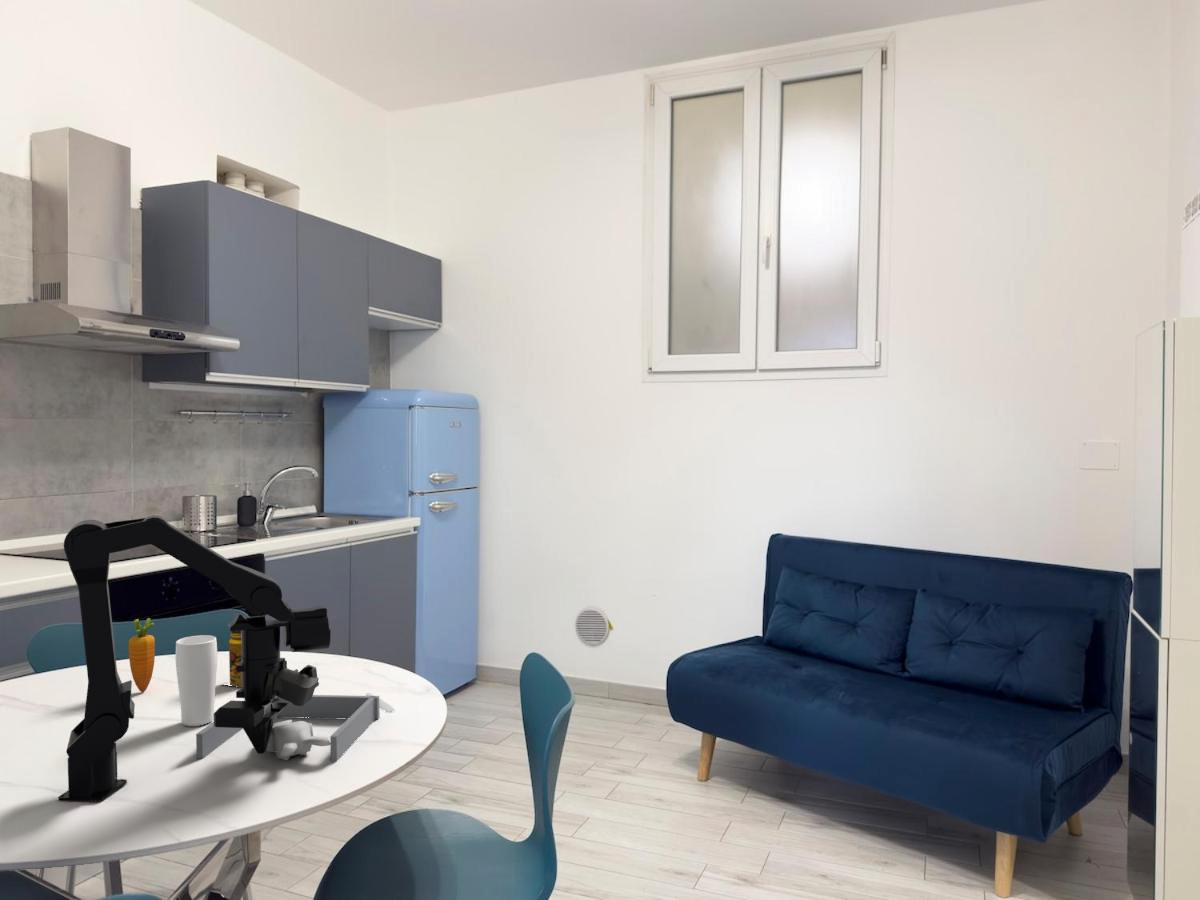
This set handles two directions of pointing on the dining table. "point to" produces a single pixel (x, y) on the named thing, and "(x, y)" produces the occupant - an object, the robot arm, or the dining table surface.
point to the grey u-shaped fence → (319, 706)
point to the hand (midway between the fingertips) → (261, 753)
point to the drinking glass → (196, 678)
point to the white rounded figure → (293, 739)
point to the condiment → (235, 658)
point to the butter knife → (383, 704)
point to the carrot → (142, 655)
